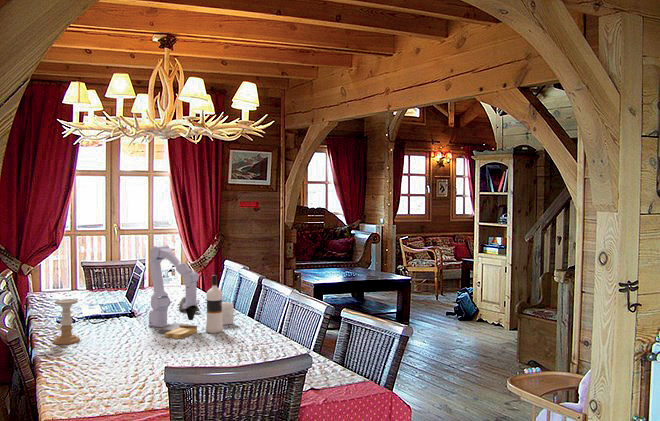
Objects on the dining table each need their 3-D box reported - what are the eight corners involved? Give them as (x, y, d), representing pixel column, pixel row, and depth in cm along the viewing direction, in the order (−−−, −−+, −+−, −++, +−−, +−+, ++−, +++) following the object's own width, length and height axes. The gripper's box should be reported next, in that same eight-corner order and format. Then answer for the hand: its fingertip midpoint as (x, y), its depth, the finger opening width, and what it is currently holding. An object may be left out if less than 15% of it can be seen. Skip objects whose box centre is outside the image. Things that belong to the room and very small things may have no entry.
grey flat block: (158, 332, 327) (158, 328, 327) (174, 326, 343) (174, 322, 343) (172, 334, 325) (172, 330, 325) (187, 327, 340) (187, 323, 340)
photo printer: (231, 322, 354) (231, 300, 354) (234, 324, 350) (234, 302, 350) (214, 324, 348) (214, 302, 348) (217, 326, 345) (217, 303, 344)
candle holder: (85, 340, 311) (85, 299, 310) (67, 345, 299) (67, 303, 299) (65, 338, 315) (65, 298, 314) (47, 343, 303) (46, 302, 303)
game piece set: (250, 362, 273) (250, 354, 273) (215, 356, 284) (215, 347, 284) (277, 353, 290) (277, 344, 290) (243, 347, 300) (243, 339, 300)
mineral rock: (200, 313, 380) (200, 297, 380) (182, 315, 375) (182, 298, 375) (195, 310, 392) (195, 294, 391) (177, 311, 387) (177, 295, 387)
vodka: (204, 330, 334) (204, 274, 333) (221, 329, 337) (221, 273, 336) (207, 334, 325) (207, 276, 324) (224, 332, 329) (224, 275, 328)
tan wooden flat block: (164, 337, 318) (164, 330, 318) (181, 330, 333) (181, 324, 333) (181, 338, 315) (181, 332, 315) (196, 331, 330) (196, 325, 330)
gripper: (190, 297, 327) (190, 323, 327) (204, 293, 341) (204, 317, 341) (178, 296, 329) (178, 322, 329) (192, 292, 343) (192, 316, 343)
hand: (190, 319), depth 335 cm, fingers closed
